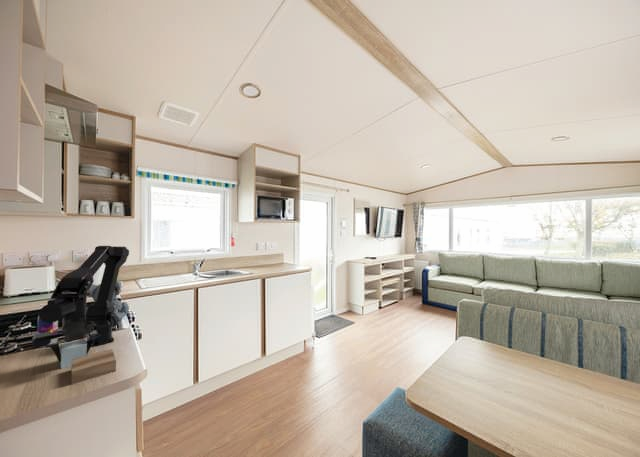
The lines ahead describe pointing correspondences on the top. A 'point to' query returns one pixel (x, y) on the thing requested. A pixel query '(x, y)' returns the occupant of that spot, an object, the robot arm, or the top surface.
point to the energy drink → (47, 327)
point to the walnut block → (92, 366)
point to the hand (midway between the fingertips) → (73, 358)
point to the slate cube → (72, 352)
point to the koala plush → (120, 308)
